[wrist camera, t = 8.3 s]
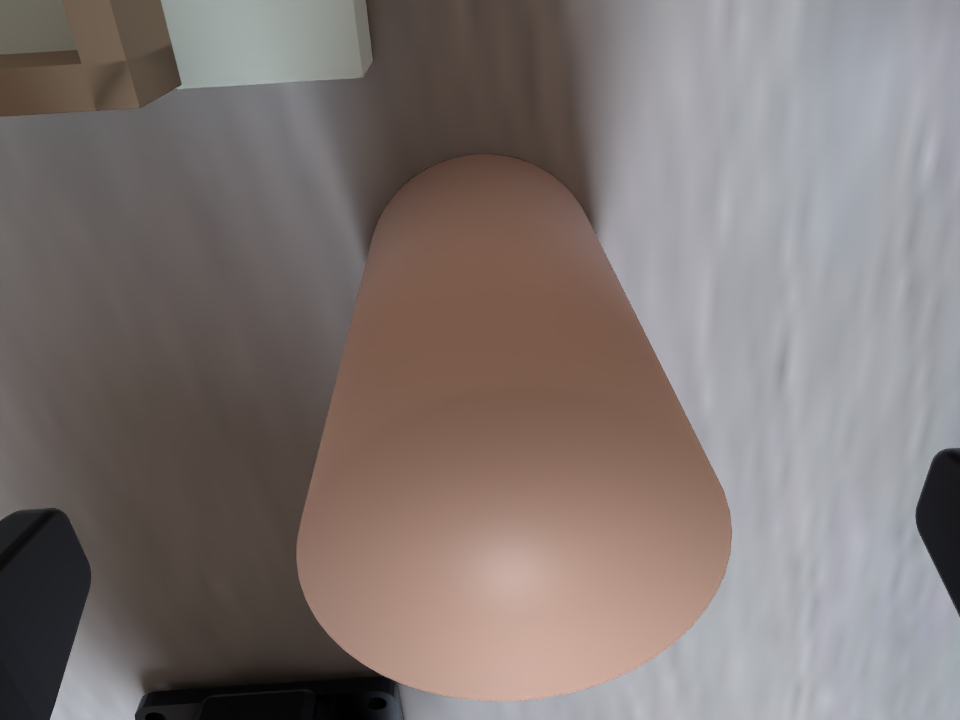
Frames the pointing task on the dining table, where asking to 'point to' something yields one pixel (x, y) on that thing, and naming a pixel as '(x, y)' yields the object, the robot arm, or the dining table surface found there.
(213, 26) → the board
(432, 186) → the tan brown cylinder
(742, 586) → the dining table surface
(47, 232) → the dining table surface
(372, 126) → the dining table surface
